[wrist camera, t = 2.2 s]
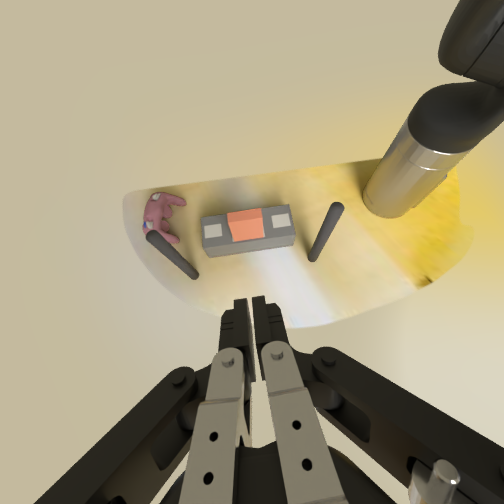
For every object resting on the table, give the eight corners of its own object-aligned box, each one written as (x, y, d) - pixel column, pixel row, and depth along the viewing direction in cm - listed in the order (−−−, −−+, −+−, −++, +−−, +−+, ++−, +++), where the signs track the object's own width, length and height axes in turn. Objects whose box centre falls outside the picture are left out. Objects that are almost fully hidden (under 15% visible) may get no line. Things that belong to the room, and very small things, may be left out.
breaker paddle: (262, 228, 43) (260, 207, 36) (263, 237, 42) (262, 217, 36) (233, 233, 43) (226, 213, 36) (234, 241, 42) (227, 222, 36)
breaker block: (287, 216, 49) (288, 203, 45) (293, 245, 47) (295, 234, 42) (207, 229, 50) (200, 216, 45) (209, 257, 47) (202, 248, 43)
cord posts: (315, 253, 46) (342, 200, 30) (317, 261, 46) (345, 212, 29) (190, 271, 47) (145, 230, 30) (190, 280, 46) (145, 242, 29)
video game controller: (173, 205, 54) (146, 187, 48) (189, 200, 52) (162, 181, 46) (164, 247, 51) (134, 234, 45) (181, 244, 48) (151, 230, 43)
